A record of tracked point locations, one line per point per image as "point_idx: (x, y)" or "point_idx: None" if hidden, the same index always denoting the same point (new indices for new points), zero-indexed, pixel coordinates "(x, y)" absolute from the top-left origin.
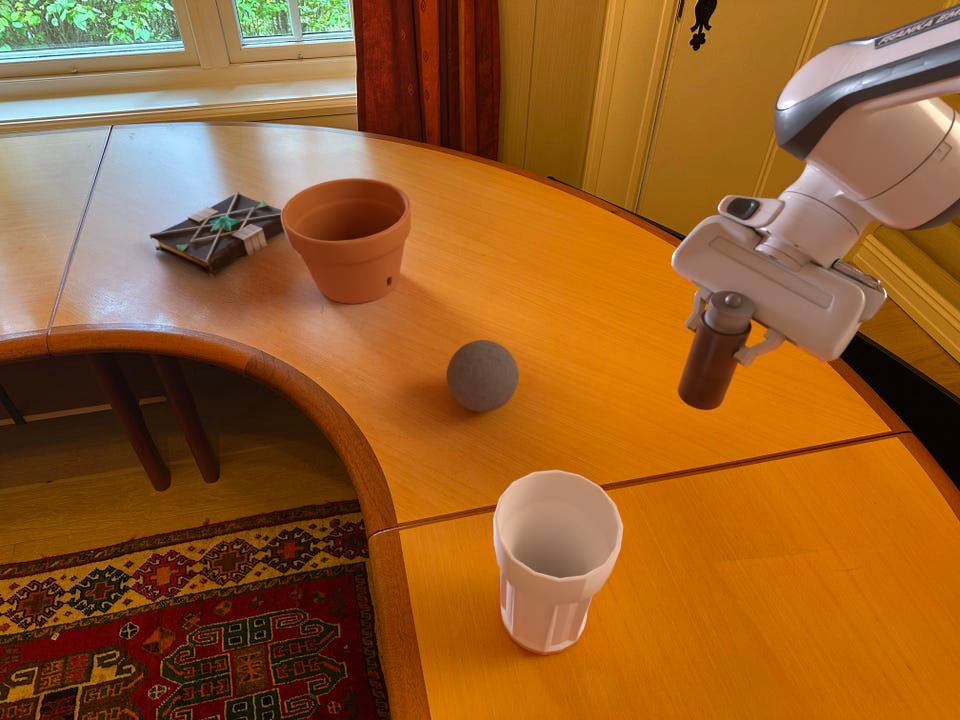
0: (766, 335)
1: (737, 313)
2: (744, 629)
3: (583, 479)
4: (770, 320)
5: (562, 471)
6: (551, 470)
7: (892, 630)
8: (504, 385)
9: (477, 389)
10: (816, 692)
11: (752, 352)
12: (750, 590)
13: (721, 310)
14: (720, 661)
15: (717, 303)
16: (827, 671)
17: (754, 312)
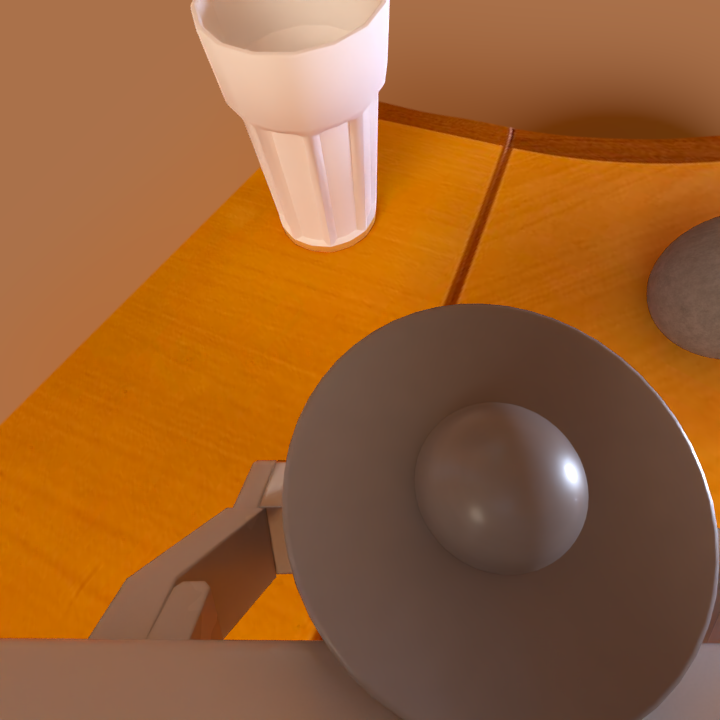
0: (189, 592)
1: (357, 394)
2: (158, 375)
3: (323, 44)
4: (162, 666)
5: (358, 28)
6: (371, 19)
7: (2, 545)
8: (684, 278)
9: (690, 233)
10: (63, 384)
11: (238, 496)
12: (177, 424)
13: (460, 323)
14: (161, 324)
15: (551, 363)
16: (60, 416)
17: (329, 653)
